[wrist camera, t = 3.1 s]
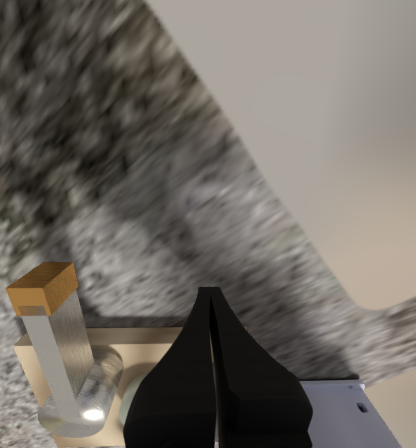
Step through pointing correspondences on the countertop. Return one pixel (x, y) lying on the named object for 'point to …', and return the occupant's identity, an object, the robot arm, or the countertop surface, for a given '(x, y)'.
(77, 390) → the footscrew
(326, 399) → the robot arm
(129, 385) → the base
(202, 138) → the countertop surface
